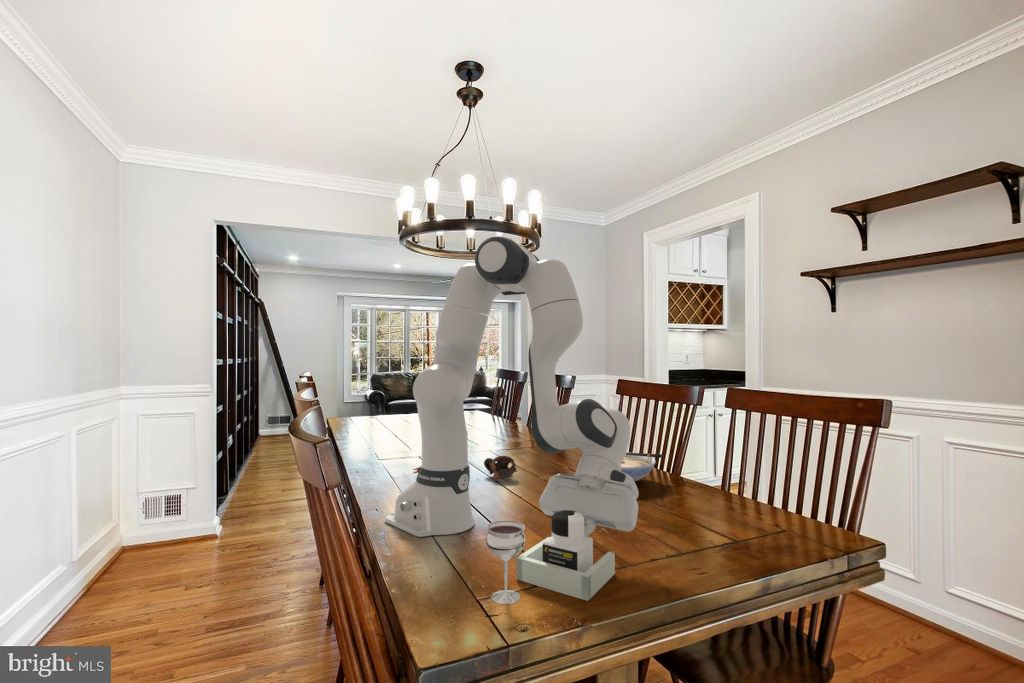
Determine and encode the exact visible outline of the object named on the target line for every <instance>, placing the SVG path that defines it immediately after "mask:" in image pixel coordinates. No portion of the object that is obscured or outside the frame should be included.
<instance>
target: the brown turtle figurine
mask: <svg viewBox="0 0 1024 683" xmlns="http://www.w3.org/2000/svg"><path fill="white" fill-rule="evenodd" d="M509 464H511V466H510V467H509ZM483 465H484V468H485V469H486V470H487V471H488V472H489V474H490V476H491V475H493V476H492V480H493V481H494V482H496V481H497V482H498V481H499V480H500V479H506V478H509V477H511V476H512V475H514V473H517V472H518V470H517V468H516V466H517V465H516V462H515V460H514V459H513V458H512V457H510V456H507V455H498V456H495V457H494V458H490V457H487V458H485V460H484V461H483Z"/></svg>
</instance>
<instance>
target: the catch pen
mask: <svg viewBox="0 0 1024 683" xmlns="http://www.w3.org/2000/svg"><path fill="white" fill-rule="evenodd" d="M550 537H551V536H547V537H546V538H544V539H543V540H542V541H540V542H538V543H537V544H535V545H534V546H532V547H531V548H529V549H527V550H526V551H525V552H523V553H521V554H520V555H517V556H516V563H515V564H516V565H515V566H516V570H515V571H516V580H518V581H520V582H524V583H528V584H531V585H534V586H537V587H540V588H544V589H547V590H550V591H553V592H557V593H559V594H563V595H566V596H569V597H573V598H577V599H579V600H583V601H586V602H588V601H590V600H591V599H592V598H593V597H594V596H595V594H597V593H598V592H599V590H601V588H603V586H604V585H605V584H606V583H608V581H609V580H611V579H612V577H613V576H615V574H616V571H615V570H616V567H615V566H616V562H615V561H616V560H615V559H616V558H615V557H616V555H615V552H613V551H608V552H606V553H605V554H604V555H603V556H602V557H601V558H600V559H598V560H597V561H596V562H595V563H593V566H592V567H591V568H589V569H588V570H587V571H586V572H585V573H583V572H579V571H575V570H572V569H568V568H564V567H561V566H557V565H553V564H550V563H546V562H543V542H544V541H546V540H547V539H548V538H550Z"/></svg>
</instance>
